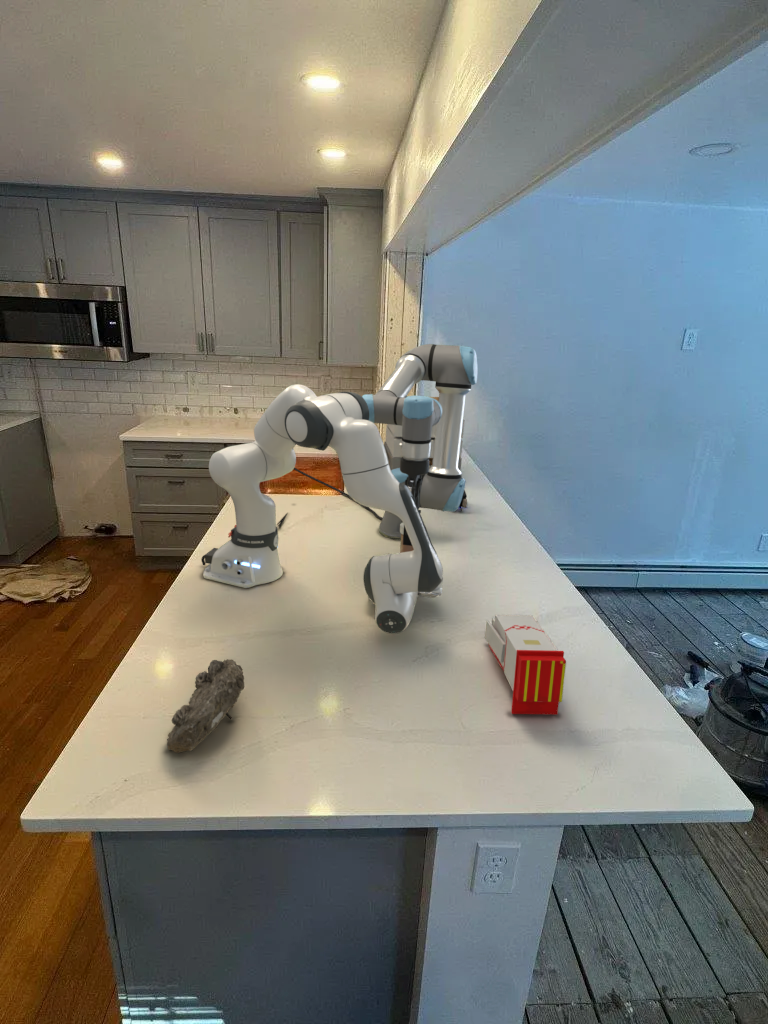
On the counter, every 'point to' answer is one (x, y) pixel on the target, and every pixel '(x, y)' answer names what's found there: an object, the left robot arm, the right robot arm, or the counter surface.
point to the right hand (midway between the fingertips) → (409, 540)
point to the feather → (281, 520)
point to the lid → (402, 528)
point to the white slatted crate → (395, 439)
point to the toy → (527, 663)
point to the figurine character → (463, 501)
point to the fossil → (206, 705)
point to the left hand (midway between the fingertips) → (408, 568)
